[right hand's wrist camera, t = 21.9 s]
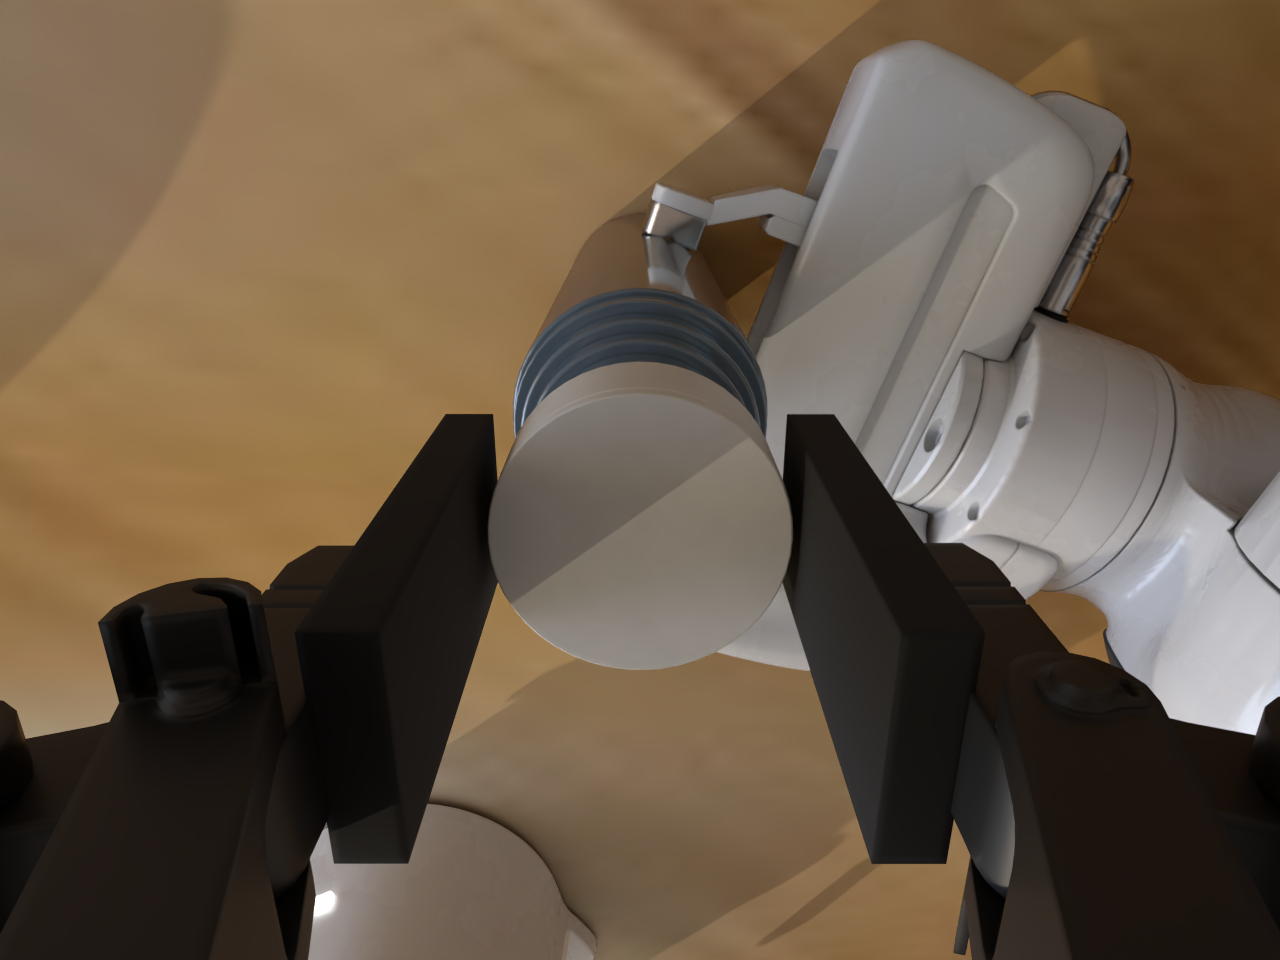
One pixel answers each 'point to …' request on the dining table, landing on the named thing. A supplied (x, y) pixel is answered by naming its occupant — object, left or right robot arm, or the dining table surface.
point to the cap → (640, 518)
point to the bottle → (639, 320)
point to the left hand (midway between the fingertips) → (613, 309)
